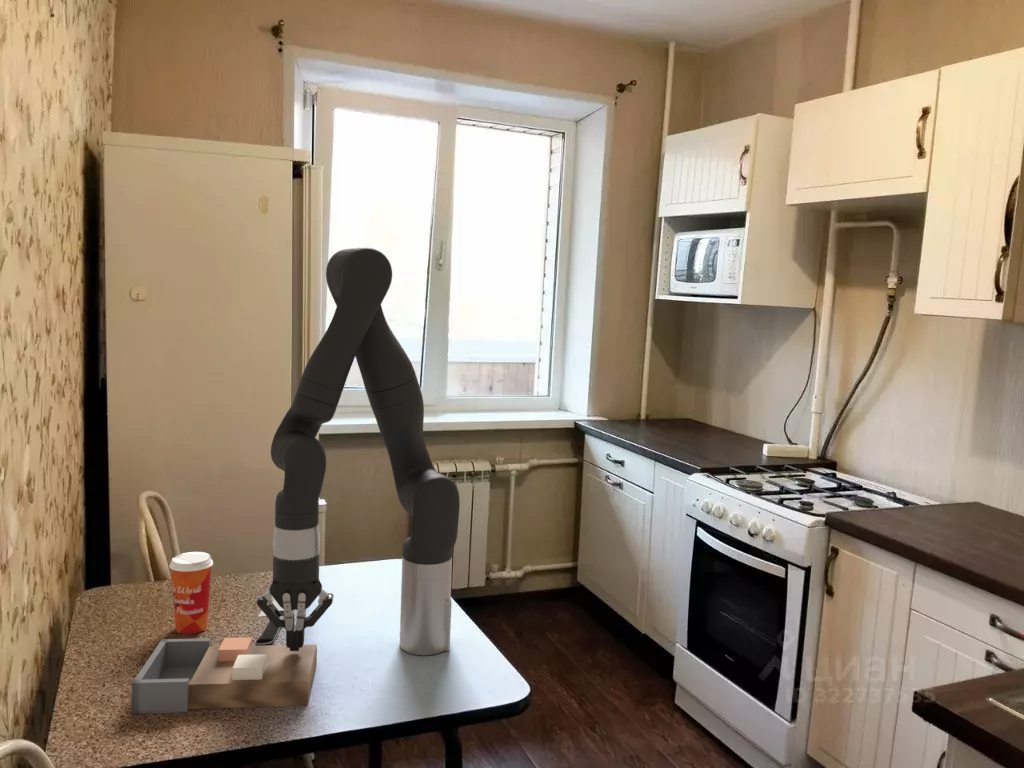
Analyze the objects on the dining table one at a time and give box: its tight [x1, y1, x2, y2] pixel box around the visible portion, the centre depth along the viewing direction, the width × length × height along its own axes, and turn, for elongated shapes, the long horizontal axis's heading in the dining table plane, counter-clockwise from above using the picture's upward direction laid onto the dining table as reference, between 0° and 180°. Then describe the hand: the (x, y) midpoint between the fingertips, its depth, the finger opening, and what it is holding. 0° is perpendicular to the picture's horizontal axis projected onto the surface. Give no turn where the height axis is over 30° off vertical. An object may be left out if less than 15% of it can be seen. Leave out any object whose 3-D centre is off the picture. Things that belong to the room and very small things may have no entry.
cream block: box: [232, 654, 267, 680], centre depth 126 cm, size 4×4×2 cm
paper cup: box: [169, 551, 214, 635], centre depth 149 cm, size 8×8×14 cm
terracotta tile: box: [219, 636, 253, 661], centre depth 131 cm, size 4×4×2 cm
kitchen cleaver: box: [255, 596, 284, 646], centre depth 159 cm, size 31×2×10 cm
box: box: [131, 637, 212, 715], centre depth 127 cm, size 8×15×5 cm, turn 8°
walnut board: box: [189, 644, 318, 710], centre depth 129 cm, size 18×13×4 cm
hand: (294, 649), depth 133 cm, fingers closed
